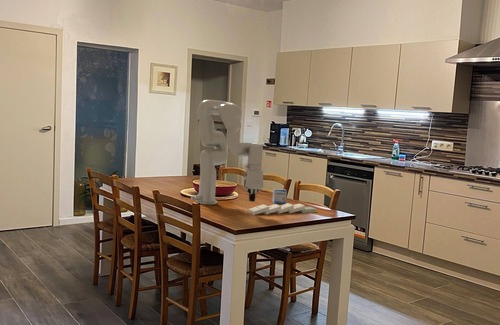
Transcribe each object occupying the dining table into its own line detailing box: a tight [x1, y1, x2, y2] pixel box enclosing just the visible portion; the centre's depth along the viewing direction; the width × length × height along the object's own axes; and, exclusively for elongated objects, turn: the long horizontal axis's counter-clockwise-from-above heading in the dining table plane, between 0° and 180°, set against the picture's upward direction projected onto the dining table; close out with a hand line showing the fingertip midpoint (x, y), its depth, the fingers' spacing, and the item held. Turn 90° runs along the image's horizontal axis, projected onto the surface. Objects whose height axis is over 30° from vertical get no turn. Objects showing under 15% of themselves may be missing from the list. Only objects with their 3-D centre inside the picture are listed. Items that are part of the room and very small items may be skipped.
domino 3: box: [275, 202, 294, 214], centre depth 275 cm, size 2×6×10 cm
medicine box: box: [271, 188, 288, 205], centre depth 303 cm, size 8×4×9 cm, turn 101°
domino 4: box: [286, 203, 306, 214], centre depth 279 cm, size 2×6×10 cm
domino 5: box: [299, 206, 317, 214], centre depth 283 cm, size 2×6×10 cm
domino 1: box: [247, 204, 270, 216], centre depth 267 cm, size 2×6×10 cm
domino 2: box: [262, 203, 282, 215], centre depth 271 cm, size 2×6×10 cm
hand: (251, 201), depth 264 cm, fingers closed
